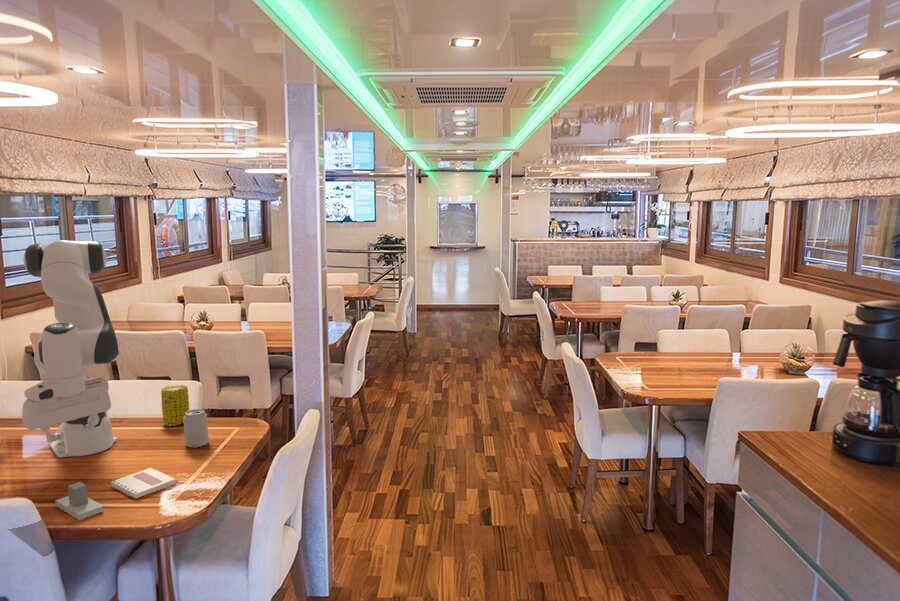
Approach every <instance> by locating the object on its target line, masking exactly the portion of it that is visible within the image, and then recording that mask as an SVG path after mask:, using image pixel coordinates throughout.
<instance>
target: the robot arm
mask: <svg viewBox="0 0 900 601" xmlns="http://www.w3.org/2000/svg"><path fill="white" fill-rule="evenodd" d="M107 255H108V254H107V252H106V250H105V248H104V247H103V245H102V243H100V242H98V241H92V240H88V241H79V240H64V239H62V240H54V241H52V242H47V243H46V242H45V243H40V242H39V243H34V244H30V245H29V246H28V247H27V248H25V251H24V255H23V258H22V259H23V265H24V267H25V270H26V271H27V273H28V274H30V275H31V277H32V276H33V277H37V278H40V280H41V281H40V282H41V287H42V290H43V292H44V293H45V294H46V295H47V296H48V297H50V298H51V299H52V303H53V310H54V318H55V319H56V321H57V322H55V323H51V324H49V325H47V326H45V327H43V330H42V337H41V338H42V339H41V340H40V341H39V342H38V347H37V348H36V350H35V352H34V356H33V362H34V365H35V366H36V367H37V369H38V370H39V371H40V372H41V373H43V374H44V380H42V381H41V382H39V383H37V384H35V385H33V386H30V387H29V388H27V389H25V390H24V392H23V393H24V394H23V395H24V397H25V398H26V399H25V401H24V402H23V404H22V411H21V412H22V414H21V415H22V418H21V419H22V425H23V427H25V428H26V429H27V430H30V431H36V430H38V429H40V431H41V432H42V433H43V434H44V435H45V436H46V437H45V438H46V441H47V443H49V447H50V449H51V450H52V452H53V453H54V454H55V456H56V457H57V458H67V457H84V456H89V455H93V454H98V453H101V452H104V451H105V450H106V451H107V450H109V448H111V447H112V446H113V444H114V443H116V442H117V441H118V437H117V436H114V434H113V429H112V423H111V419H110V418H108V417H107V418H106V417H105V416H106V412H108V411H110V409H111V407H112V402H111V398H110V397H111V396H110V393H109V382H108V380H106V379H104V378H102V377H101V378H96V379H94V378H91V377H87V376H86V372H85V369H86V368H92V367H96V366H100V365H103V364H104V365H105V364H107V365H108V364H110V363H111V362H112V361H113V360H116V358H118V357H119V355H120V350H121V346H120V345H121V343H120V340H119V336H118V335H117V333H116V331H115V328H114V327H113V324H112V321H111V318H110V314H109V312H108V308H107V305H106V302H105V299H104V296H103V294H102V291H101V290H100V287H99V286H98V285H97V284H96V283H93V282H91V280H90V277H89V276H90V274H91V276H92V278H94V277H95V275H97V274H100V273H102V271H104V270H105V267H106V265H107V260H108V256H107ZM58 424H60V426H58V427H57V429H56V433H50V429H51V426H54V425H58Z"/></svg>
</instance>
